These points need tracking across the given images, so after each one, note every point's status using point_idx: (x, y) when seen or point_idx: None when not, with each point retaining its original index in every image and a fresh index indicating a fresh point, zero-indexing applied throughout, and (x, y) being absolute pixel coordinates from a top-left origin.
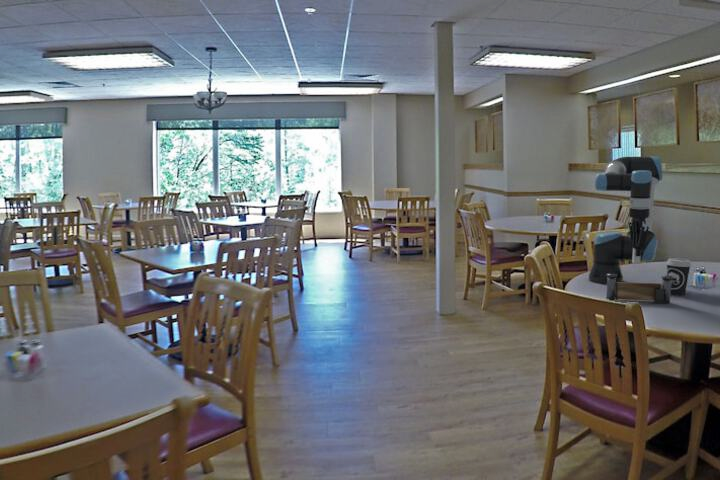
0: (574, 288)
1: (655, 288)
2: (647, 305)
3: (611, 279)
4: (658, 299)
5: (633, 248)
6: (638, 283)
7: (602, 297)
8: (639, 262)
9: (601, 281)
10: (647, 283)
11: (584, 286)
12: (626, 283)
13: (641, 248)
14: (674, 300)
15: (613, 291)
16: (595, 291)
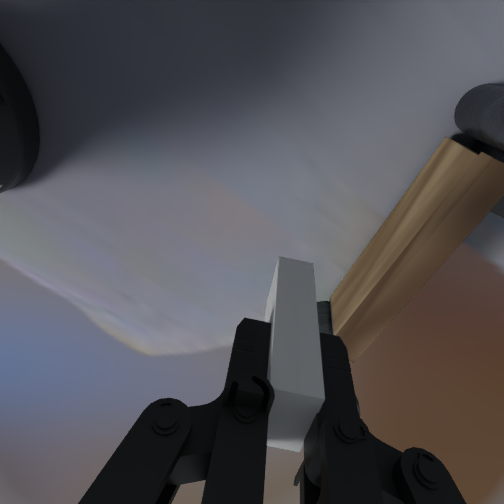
0: (128, 323)
1: (492, 210)
2: (471, 242)
3: None
4: None
5: (268, 440)
6: (416, 288)
7: None
8: (311, 274)
9: (23, 176)
10: (444, 242)
11: (94, 274)
12: (377, 333)
13: (351, 414)
14: (476, 8)
15: None
16: (184, 285)
